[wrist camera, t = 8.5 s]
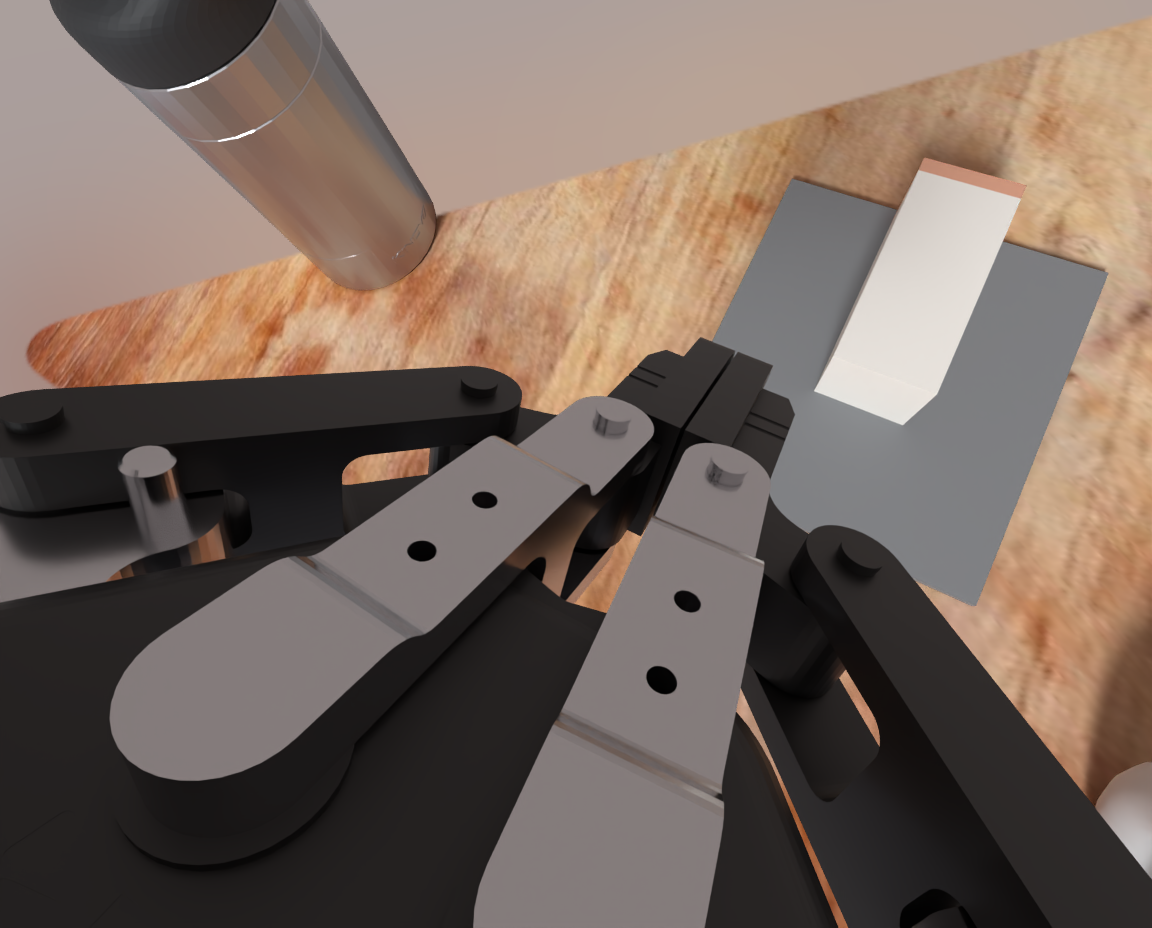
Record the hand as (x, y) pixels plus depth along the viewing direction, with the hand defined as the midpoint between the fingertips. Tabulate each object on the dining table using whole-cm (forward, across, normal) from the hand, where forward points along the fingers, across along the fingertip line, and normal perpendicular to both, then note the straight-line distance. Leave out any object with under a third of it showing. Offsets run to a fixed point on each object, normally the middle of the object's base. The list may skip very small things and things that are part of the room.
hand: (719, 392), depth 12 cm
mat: (+26, -5, +8) cm, 27 cm away
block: (+22, -5, +8) cm, 24 cm away
